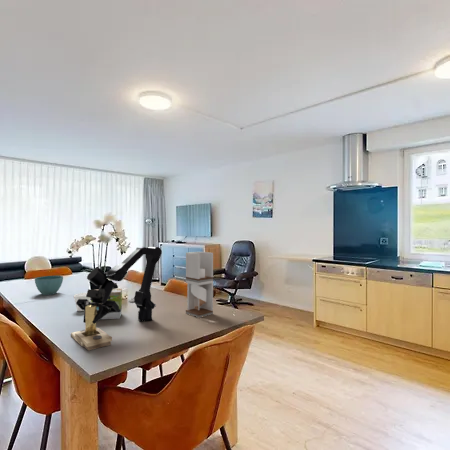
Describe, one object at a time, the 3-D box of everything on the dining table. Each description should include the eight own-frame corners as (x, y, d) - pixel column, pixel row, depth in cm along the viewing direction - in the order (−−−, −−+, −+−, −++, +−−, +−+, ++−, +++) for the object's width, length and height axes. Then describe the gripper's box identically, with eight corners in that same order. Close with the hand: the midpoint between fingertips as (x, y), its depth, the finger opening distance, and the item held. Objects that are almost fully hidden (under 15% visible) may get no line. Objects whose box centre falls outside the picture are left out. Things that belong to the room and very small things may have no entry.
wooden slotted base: (93, 331, 142) (93, 323, 142) (112, 344, 126) (112, 335, 126) (70, 336, 135) (70, 328, 135) (87, 350, 119) (87, 341, 119)
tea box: (90, 321, 158) (90, 292, 158) (93, 315, 167) (93, 289, 167) (120, 318, 162) (120, 291, 162) (121, 313, 171) (122, 287, 171)
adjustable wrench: (156, 306, 189) (156, 303, 189) (148, 308, 184) (148, 305, 184) (134, 300, 205) (134, 297, 205) (126, 301, 200) (126, 299, 200)
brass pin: (96, 335, 133) (96, 304, 133) (96, 339, 129) (96, 306, 129) (85, 337, 132) (85, 305, 132) (85, 340, 128) (85, 307, 128)
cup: (84, 313, 172) (85, 296, 172) (69, 312, 174) (69, 296, 174) (95, 308, 182) (95, 293, 182) (81, 307, 184) (81, 292, 184)
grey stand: (185, 313, 171) (186, 252, 172) (200, 310, 179) (200, 251, 179) (198, 318, 163) (198, 253, 164) (212, 314, 171) (213, 252, 171)
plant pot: (28, 295, 216) (28, 278, 216) (49, 290, 233) (50, 275, 233) (48, 297, 210) (48, 280, 211) (68, 292, 228) (68, 276, 228)
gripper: (78, 281, 137) (60, 311, 126) (115, 282, 132) (99, 314, 122) (90, 294, 144) (73, 324, 133) (125, 296, 140) (111, 327, 129)
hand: (88, 322), depth 129 cm, fingers closed on brass pin, 4 cm apart
